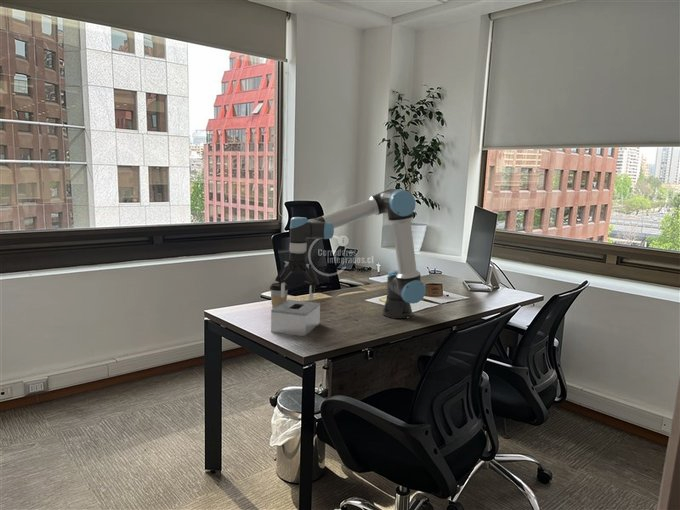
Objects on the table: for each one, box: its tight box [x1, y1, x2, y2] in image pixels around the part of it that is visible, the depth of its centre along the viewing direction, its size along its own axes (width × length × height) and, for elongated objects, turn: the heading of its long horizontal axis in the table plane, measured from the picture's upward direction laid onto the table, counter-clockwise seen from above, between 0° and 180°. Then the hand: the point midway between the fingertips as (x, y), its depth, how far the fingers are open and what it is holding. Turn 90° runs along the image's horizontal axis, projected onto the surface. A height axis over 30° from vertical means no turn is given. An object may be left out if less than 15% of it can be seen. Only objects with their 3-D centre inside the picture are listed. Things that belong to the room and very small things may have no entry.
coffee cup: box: [269, 282, 290, 310], centre depth 245 cm, size 9×9×15 cm
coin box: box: [270, 299, 321, 337], centre depth 224 cm, size 16×20×10 cm
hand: (296, 298), depth 223 cm, fingers open, 13 cm apart
